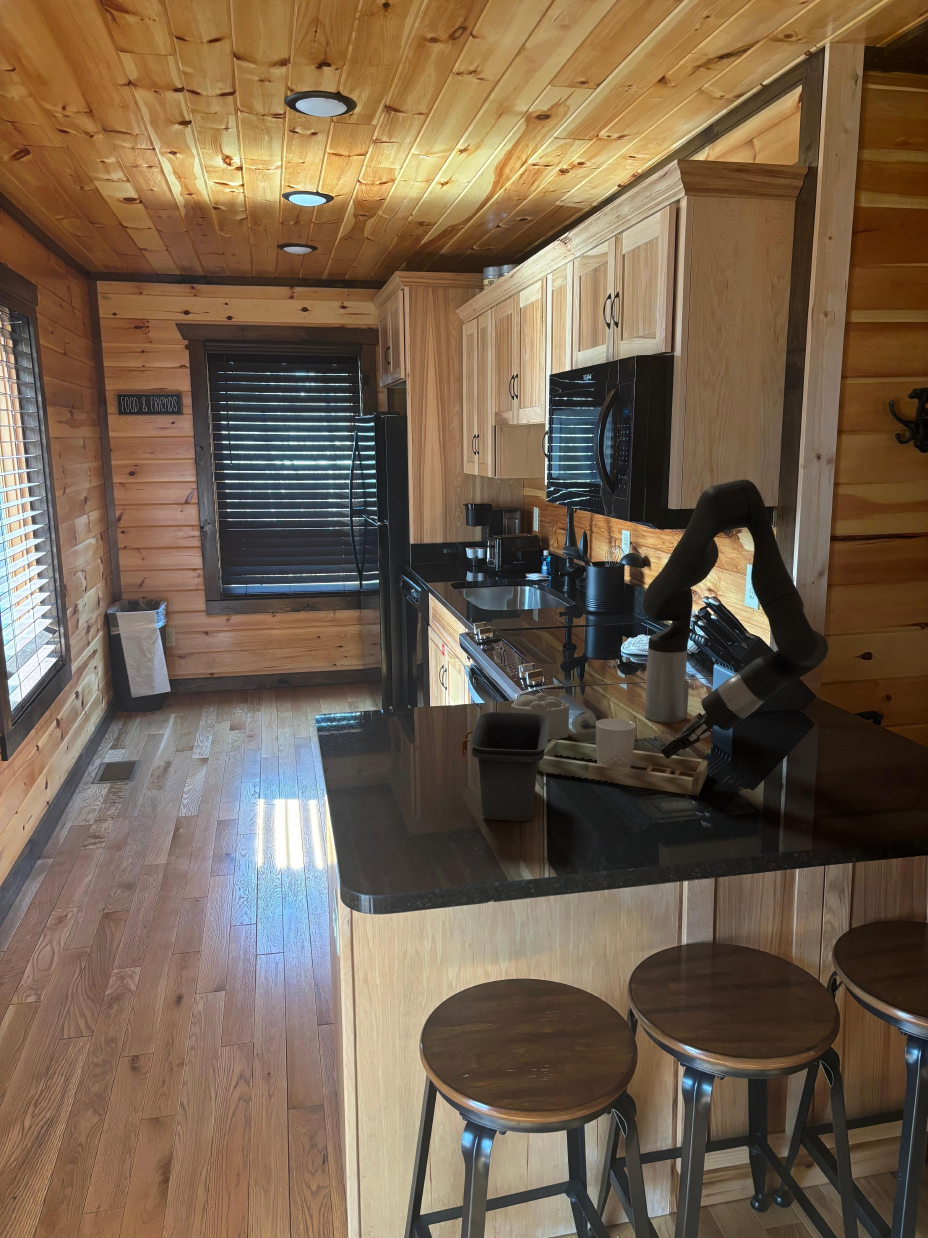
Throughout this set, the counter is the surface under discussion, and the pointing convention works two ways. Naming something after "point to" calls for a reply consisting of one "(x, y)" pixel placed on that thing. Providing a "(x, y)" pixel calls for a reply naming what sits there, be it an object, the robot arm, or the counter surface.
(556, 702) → the lumpy-topped squat cylinder
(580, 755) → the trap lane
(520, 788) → the storage bin
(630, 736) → the white cup
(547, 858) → the counter surface
